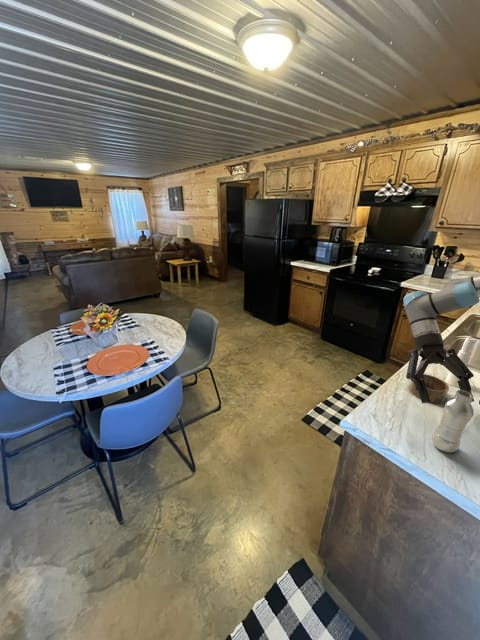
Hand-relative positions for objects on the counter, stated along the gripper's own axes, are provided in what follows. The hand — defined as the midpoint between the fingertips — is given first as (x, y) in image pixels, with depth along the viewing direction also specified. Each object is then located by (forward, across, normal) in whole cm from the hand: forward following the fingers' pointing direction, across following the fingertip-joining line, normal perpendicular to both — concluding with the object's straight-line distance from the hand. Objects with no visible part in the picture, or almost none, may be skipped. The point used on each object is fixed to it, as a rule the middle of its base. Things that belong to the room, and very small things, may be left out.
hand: (448, 402), depth 79 cm
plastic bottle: (+13, 0, -8) cm, 15 cm away
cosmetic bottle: (-9, -29, -29) cm, 42 cm away
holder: (-4, -12, -24) cm, 28 cm away
